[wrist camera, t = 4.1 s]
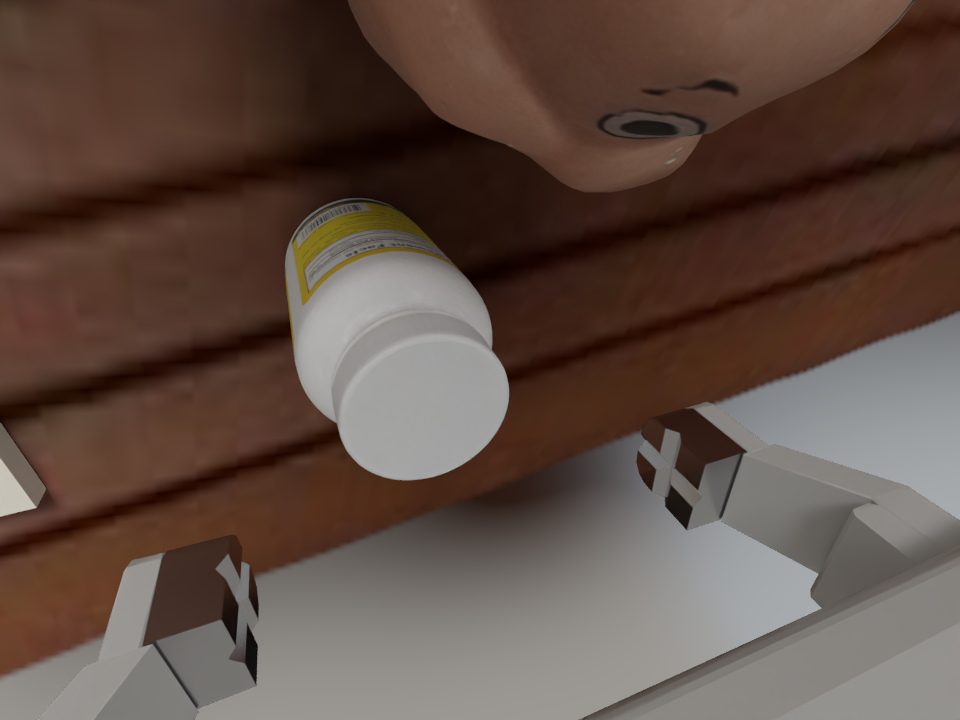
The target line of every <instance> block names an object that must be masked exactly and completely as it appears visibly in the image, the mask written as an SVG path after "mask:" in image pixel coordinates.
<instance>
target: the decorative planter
mask: <svg viewBox="0 0 960 720" xmlns="http://www.w3.org/2000/svg"><path fill="white" fill-rule="evenodd" d="M914 2H915V0H348V3H349V5H350V8H351V11H352V13H353V15H354V17H355V19H356V21H357V23H358V25H359V27H360V29H361V31H362V33H363V35H364V37H365V38H366V40H367V41H368V42H369V43H370V45H371V46H372V47H373V48H374V50H375V51H376V52H377V54H378V55H379V56H380V57H381V58H382V59H383V60H384V61H385V62H387V63H388V64H389V65H390V66H391V67H392V68H393V69H394V70H395V72H396V73H397V74H398V75H399V76H400V77H401V78H402V79H403V80H404V81H405V82H406V83H407V84H408V85H409V86H410V87H411V88H412V89H413V90H414V91H415V92H417V94H418V95H419V96H420V97H421V98H422V100H423V101H424V102H425V103H426V105H427V106H428V107H429V108H430V109H431V111H432V112H433V113H435V114H436V115H437V116H439V117H440V118H442V119H443V120H445V121H447V122H449V123H451V124H453V125H455V126H456V127H459V128H461V129H464V130H467V131H469V132H472V133H474V134H477V135H480V136H482V137H485V138H488V139H490V140H494V141H497V142H500V143H503V144H505V145H507V146H509V147H512V148H514V149H516V150H518V151H520V152H522V153H523V154H525V155H527V156H528V157H530V158H531V159H533V160H534V161H535V162H536V163H538V164H539V165H540V166H541V167H542V168H544V169H545V170H546V171H548V172H549V173H550V174H551V175H553V176H554V177H555V178H556V179H558V180H559V181H560V182H562V183H563V184H565V185H567V186H569V187H571V188H573V189H576V190H579V191H582V192H615V191H621V190H625V189H629V188H633V187H637V186H641V185H645V184H648V183H651V182H654V181H656V180H659V179H661V178H664V177H666V176H669V175H670V174H671V173H672V172H674V171H675V170H676V169H677V168H679V167H680V166H681V165H682V164H684V162H685V161H686V159H687V158H688V157H689V155H690V154H691V152H692V151H693V150H694V148H695V147H696V145H697V143H698V141H699V140H700V138H701V136H702V134H709V133H712V132H714V131H716V130H718V129H719V128H721V127H723V126H725V125H726V124H728V123H730V122H732V121H733V120H735V119H737V118H739V117H740V116H742V115H744V114H746V113H748V112H750V111H752V110H754V109H756V108H758V107H760V106H763V105H765V104H767V103H769V102H771V101H773V100H775V99H778V98H780V97H782V96H785V95H787V94H789V93H791V92H794V91H796V90H798V89H801V88H803V87H805V86H807V85H809V84H811V83H813V82H815V81H817V80H819V79H821V78H824V77H826V76H828V75H830V74H832V73H834V72H836V71H837V70H839V69H840V68H842V67H843V66H845V65H846V64H848V63H849V62H851V61H853V60H854V59H856V58H857V57H859V56H860V55H862V54H863V53H865V52H866V51H868V50H869V49H870V48H871V47H872V46H873V45H874V44H875V43H876V42H878V41H879V40H880V39H881V38H882V37H883V36H884V35H885V34H886V33H887V32H889V31H890V30H891V29H892V28H893V27H894V26H895V25H896V24H897V23H898V22H899V21H900V20H901V18H902V17H903V16H904V14H905V13H906V12H907V11H908V9H909V8H910V7H911V6H912V4H913V3H914Z"/></svg>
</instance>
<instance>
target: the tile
mask: <svg viewBox="0 0 960 720" xmlns="http://www.w3.org/2000/svg"><path fill="white" fill-rule="evenodd" d="M45 491H46V487H45V486H44V484H43V483H42V482H41V480H40V479H39V477H38V476H37V474H36V473H35V471H34V470H33V469H32V467H31V466H30V464H29V463H28V461H27V460H26V459H25V457H24V456H23V454H22V453H21V451H20V450H19V448H18V447H17V446H16V444H15V443H14V441H13V440H12V438H11V437H10V435H9V434H8V433H7V431H6V430H5V428H4V427H3V425H2V424H1V422H0V517H1V516H5V515H9V514H13V513H17V512H22V511H26V510H30V509H34V508H37V506H38V504H39V502H40V500H41V498H42V496H43V495H44V493H45Z"/></svg>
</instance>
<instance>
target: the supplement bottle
mask: <svg viewBox="0 0 960 720" xmlns="http://www.w3.org/2000/svg"><path fill="white" fill-rule="evenodd" d="M285 281H286V291H287V299H288V307H289V316H290V324H291V333H292V342H293V352H294V358H295V364H296V368H297V372H298V376H299V379H300V382H301V384H302V387H303V389H304V391H305V392H306V394H307V396H308V397H309V399H310V400H311V401H312V403H313V404H314V405H315V406H316V407H317V409H318V410H320V411H321V412H322V413H323V414H324V415H325V416H326V417H328V418H329V419H331V420H332V421H334V422H335V423H337V425H338V429H339V434H340V437H341V440H342V442H343V444H344V447H345V448H346V450H347V452H348V453H349V454H350V456H351V457H352V458H353V459H354V460H355V461H356V462H357V463H358V464H359V465H360V466H362V467H363V468H365V469H366V470H368V471H370V472H372V473H374V474H376V475H379V476H382V477H385V478H389V479H395V480H418V479H425V478H431V477H434V476H438V475H441V474H444V473H446V472H449V471H451V470H453V469H455V468H457V467H459V466H461V465H462V464H464V463H466V462H467V461H469V460H470V459H471V458H473V457H474V456H475V455H476V454H478V453H479V452H480V451H481V450H482V449H483V448H484V447H485V446H486V445H487V444H488V443H489V442H490V440H491V439H492V438H493V437H494V435H495V434H496V432H497V431H498V429H499V427H500V425H501V423H502V421H503V419H504V417H505V414H506V410H507V406H508V401H509V385H508V379H507V376H506V372H505V370H504V368H503V366H502V364H501V362H500V361H499V359H498V358H497V356H496V355H495V354H494V352H493V351H492V327H491V321H490V317H489V313H488V311H487V308H486V306H485V304H484V302H483V300H482V298H481V296H480V295H479V293H478V292H477V290H476V289H475V288H474V286H473V285H472V284H471V282H470V281H469V280H468V279H467V278H466V277H465V275H464V274H463V273H462V272H461V271H460V270H459V269H458V268H457V267H456V266H455V265H454V264H453V263H452V262H451V261H450V259H448V258H447V256H446V255H445V254H444V253H443V252H442V251H441V250H440V249H439V248H438V247H437V246H436V245H435V244H434V243H433V242H432V240H430V238H429V237H428V236H427V235H426V234H425V233H424V232H423V231H422V230H421V229H420V228H419V227H418V226H417V225H416V224H415V223H414V222H413V221H412V220H411V219H410V218H408V217H407V216H406V215H405V214H404V213H402V212H401V211H399V210H398V209H396V208H394V207H392V206H390V205H388V204H386V203H383V202H380V201H376V200H372V199H366V198H349V199H342V200H338V201H334V202H331V203H329V204H327V205H325V206H323V207H321V208H319V209H317V210H316V211H314V212H313V213H311V214H310V215H309V216H308V217H307V218H306V219H305V220H304V221H303V222H302V223H301V224H300V226H299V227H298V228H297V230H296V231H295V233H294V235H293V237H292V239H291V241H290V243H289V246H288V249H287V253H286V259H285Z"/></svg>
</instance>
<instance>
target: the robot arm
mask: <svg viewBox="0 0 960 720" xmlns="http://www.w3.org/2000/svg"><path fill="white" fill-rule="evenodd" d="M641 435H642V436H643V438H644V439H645V442H644V443H643V444H642V446H641V447H640V448H639V450H638V454H637V466H638V470H639V474H640V476H641V478H642V480H643V481H644V483H645V484H646V485H647V487H648V488H649V489H650V490H651V491H652V492H654V493H656V494H659V495H661V496H663V497H665V507H666V508H667V509H668V510H669V511H670V512H671V513H672V514H673V516H674V517H675V518H676V519H677V520H678V521H679V522H680V523H681V524H682V525H683V526H684V528H685V529H686V530H689V529H693V528H695V527H699V526H702V525H705V524H708V523H711V522H714V521H717V520H720V519H722V520H721V522H723V523H725V524H727V525H729V526H731V527H732V528H734V529H736V530H738V531H740V532H742V533H744V534H745V535H748V536H749V537H751V538H753V539H755V540H757V541H759V542H760V543H762V544H764V545H766V546H768V547H770V548H772V549H774V550H775V551H777V552H779V553H781V554H783V555H785V556H787V557H788V558H790V559H793V560H794V561H796V562H798V563H800V564H802V565H803V566H805V567H807V568H809V569H811V570H813V571H815V572H816V573H818V574H819V575H818V577H817V578H816V580H815V582H814V584H813V586H812V588H811V598H812V599H813V600H815V602H816V603H817V604H818V605H819V606H820V607H821V608H822V609H820V610H818V611H816V612H813V613H811V614H809V615H807V616H805V617H802V618H800V619H798V620H796V621H794V622H792V623H789V624H787V625H785V626H783V627H780V628H778V629H776V630H774V631H772V632H770V633H767V634H765V635H763V636H761V637H759V638H756V639H754V640H752V641H750V642H748V643H746V644H743V645H741V646H739V647H737V648H735V649H732V650H730V651H728V652H726V653H724V654H721V655H719V656H717V657H715V658H713V659H711V660H708V661H706V662H704V663H702V664H700V665H697V666H695V667H693V668H691V669H689V670H687V671H684V672H682V673H680V674H678V675H676V676H673V677H671V678H669V679H667V680H665V681H663V682H660V683H658V684H656V685H654V686H652V687H649V688H647V689H645V690H643V691H641V692H638V693H636V694H634V695H632V696H630V697H628V698H625V699H623V700H621V701H619V702H617V703H614V704H612V705H610V706H608V707H606V708H603V709H601V710H599V711H597V712H595V713H593V714H591V715H588V716H586V717H584V718H582V719H580V720H960V520H959V519H957V518H955V517H954V516H952V515H951V514H949V513H948V512H946V511H945V510H943V509H942V508H940V507H939V506H937V505H936V504H934V503H933V502H931V501H930V500H928V499H927V498H925V497H924V496H922V495H921V494H919V493H917V492H916V491H914V490H913V489H911V488H910V487H908V486H906V485H903V484H900V483H896V482H893V481H890V480H887V479H884V478H880V477H878V476H874V475H871V474H868V473H865V472H862V471H858V470H855V469H852V468H849V467H846V466H843V465H839V464H836V463H833V462H830V461H827V460H824V459H820V458H817V457H814V456H811V455H808V454H805V453H802V452H798V451H795V450H792V449H789V448H786V447H783V446H779V445H776V444H773V445H770V446H769V445H767V444H766V443H765V442H763V441H762V440H761V439H759V438H758V437H756V436H755V435H754V434H753V433H752V432H750V431H749V430H748V429H746V428H745V427H744V426H742V425H741V424H740V423H738V422H737V421H736V420H734V419H733V418H732V417H730V416H729V415H727V414H726V413H725V412H724V411H722V410H721V409H720V408H718V407H717V406H716V405H714V404H711V403H708V402H705V403H701V404H698V405H694V406H691V407H687V408H686V409H680V410H677V411H673V412H670V413H667V414H663V415H660V416H656V417H653V418H649V419H647V420H646V421H645V423H644V424H643V427H642V432H641ZM258 606H259V605H258V595H257V586H256V582H255V579H254V575H253V572H252V570H251V567H250V565H248V564H246V563H244V562H242V546H241V544H240V542H239V540H238V538H237V536H236V535H228V536H224V537H220V538H216V539H212V540H208V541H204V542H200V543H196V544H192V545H189V546H185V547H181V548H177V549H173V550H169V551H167V552H164V553H160V554H156V555H152V556H148V557H144V558H140V559H136V560H132V561H131V562H130V563H129V565H128V566H127V567H126V569H125V570H124V573H123V576H122V580H121V583H120V586H119V590H118V593H117V596H116V600H115V603H114V606H113V610H112V613H111V616H110V619H109V623H108V626H107V629H106V633H105V636H104V639H103V643H102V646H101V649H100V653H99V656H98V659H97V662H94V663H91V664H88V665H85V666H84V667H83V668H82V669H81V671H80V672H79V673H78V674H77V675H76V676H75V677H74V678H73V680H72V681H71V682H70V683H69V684H68V685H67V686H66V687H65V689H64V690H63V691H62V692H61V693H60V694H59V695H58V696H57V698H56V699H55V700H54V701H53V702H52V703H51V704H50V705H49V707H48V708H47V709H46V710H45V711H44V712H43V713H42V714H41V716H40V717H39V718H38V719H37V720H195V718H196V716H197V714H198V710H197V709H198V708H201V707H203V706H206V705H208V704H211V703H214V702H216V701H219V700H221V699H224V698H226V697H229V696H232V695H234V694H237V693H239V692H242V691H244V690H247V689H249V688H252V687H255V686H256V681H257V680H256V679H257V650H258V645H257V643H256V641H255V639H254V636H253V634H252V632H251V630H252V629H253V628H254V626H255V624H256V623H257V621H258V610H259V607H258Z"/></svg>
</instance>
